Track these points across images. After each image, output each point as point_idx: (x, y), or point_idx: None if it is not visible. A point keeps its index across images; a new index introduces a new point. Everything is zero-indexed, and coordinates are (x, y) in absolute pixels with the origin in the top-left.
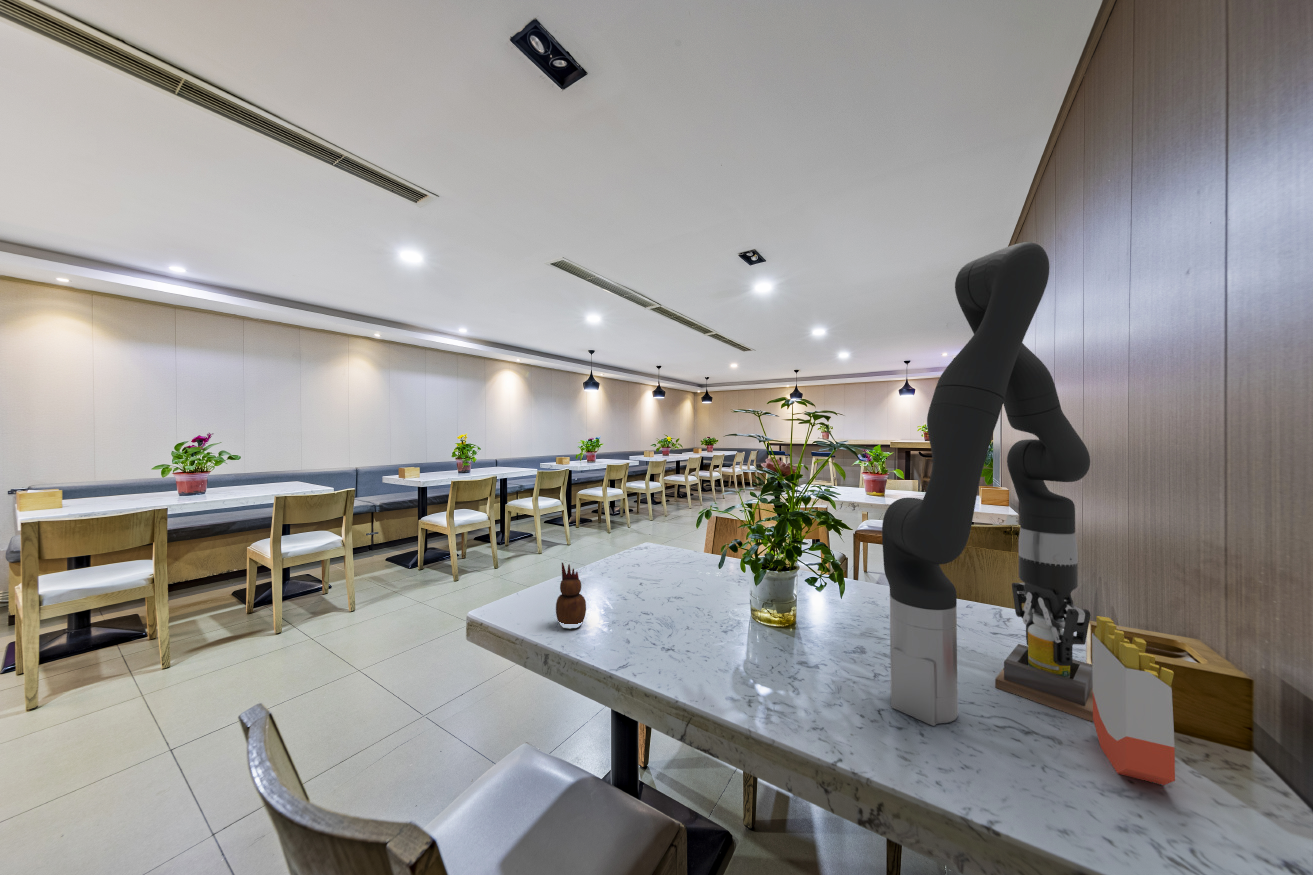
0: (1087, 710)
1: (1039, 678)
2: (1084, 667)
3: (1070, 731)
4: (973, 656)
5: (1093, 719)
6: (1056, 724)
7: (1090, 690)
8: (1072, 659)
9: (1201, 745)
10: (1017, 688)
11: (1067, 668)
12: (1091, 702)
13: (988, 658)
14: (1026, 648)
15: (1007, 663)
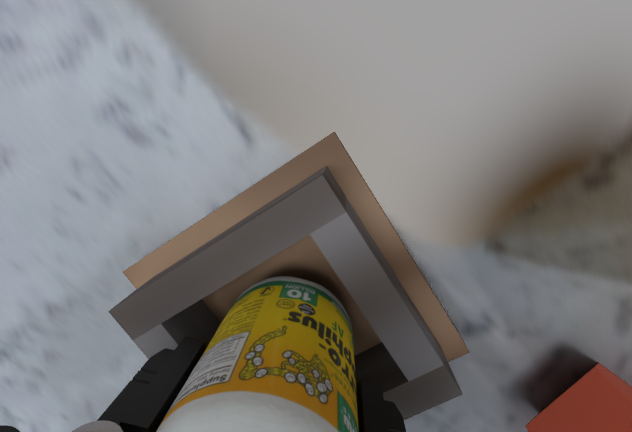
0: (456, 355)
1: None
2: (335, 241)
3: (473, 421)
4: (93, 340)
5: (526, 425)
6: (442, 425)
7: (375, 243)
8: (403, 424)
9: (629, 149)
10: None
11: (352, 348)
12: (426, 303)
13: (105, 306)
14: (154, 319)
15: None
